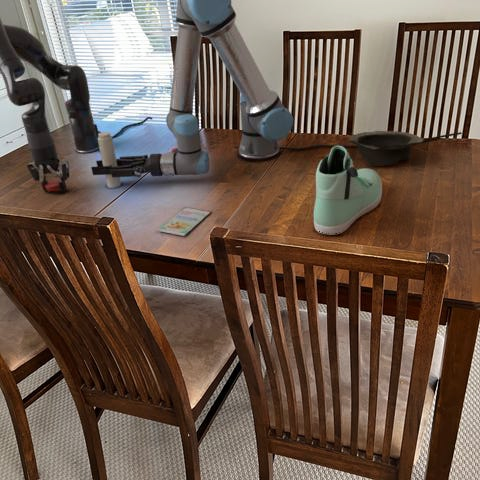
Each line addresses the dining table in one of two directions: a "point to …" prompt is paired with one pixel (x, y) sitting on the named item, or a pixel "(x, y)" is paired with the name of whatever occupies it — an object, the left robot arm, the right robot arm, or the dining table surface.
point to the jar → (108, 157)
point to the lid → (52, 185)
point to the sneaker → (343, 192)
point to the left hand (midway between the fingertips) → (55, 191)
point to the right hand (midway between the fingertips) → (95, 167)
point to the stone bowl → (384, 146)
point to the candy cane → (174, 150)
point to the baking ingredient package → (183, 221)
